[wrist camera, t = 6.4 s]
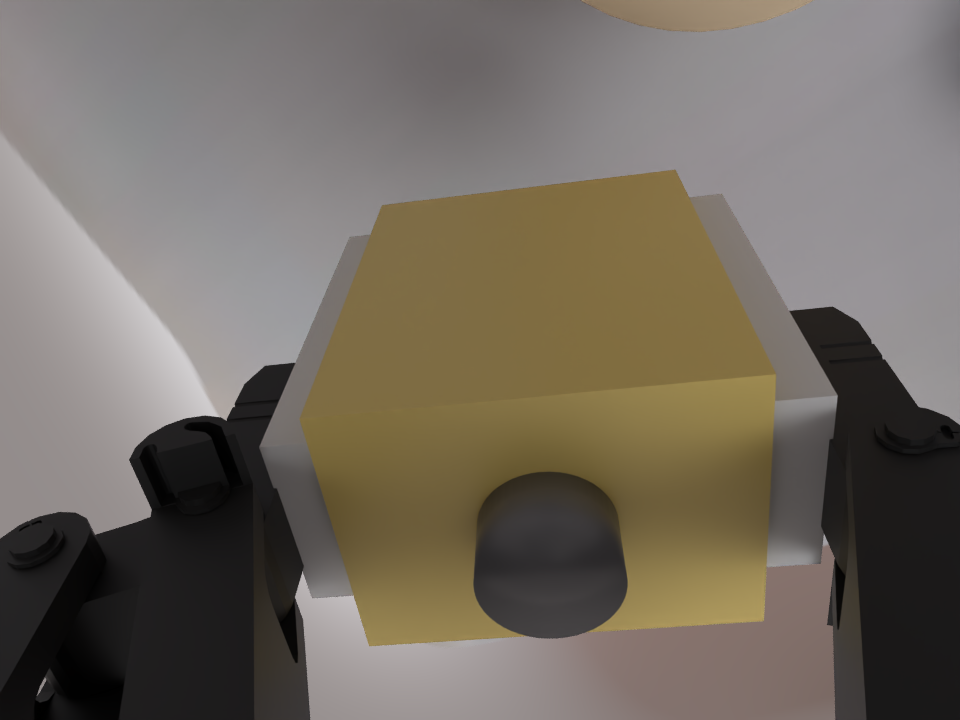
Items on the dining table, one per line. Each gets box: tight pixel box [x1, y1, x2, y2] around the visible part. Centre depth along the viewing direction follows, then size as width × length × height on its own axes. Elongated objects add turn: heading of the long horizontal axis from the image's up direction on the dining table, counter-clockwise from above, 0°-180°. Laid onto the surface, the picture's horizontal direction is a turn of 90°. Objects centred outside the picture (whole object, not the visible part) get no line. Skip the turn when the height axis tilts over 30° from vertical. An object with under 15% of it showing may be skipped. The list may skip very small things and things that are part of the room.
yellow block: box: [299, 170, 776, 646], centre depth 13 cm, size 4×6×8 cm
